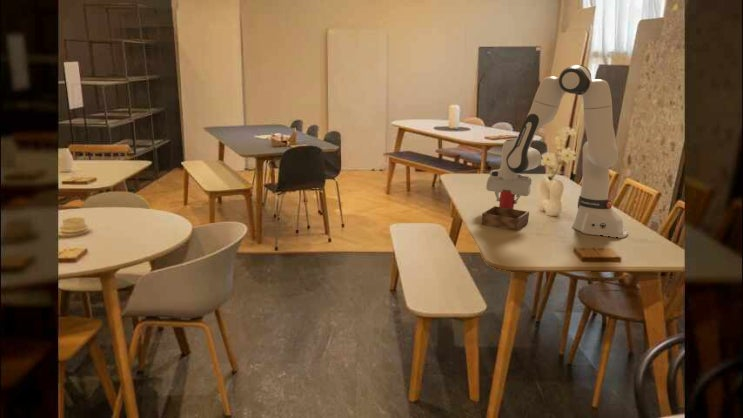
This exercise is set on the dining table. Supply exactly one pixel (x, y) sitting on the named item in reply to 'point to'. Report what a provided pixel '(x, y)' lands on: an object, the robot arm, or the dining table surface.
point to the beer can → (506, 199)
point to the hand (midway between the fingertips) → (506, 202)
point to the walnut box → (505, 218)
